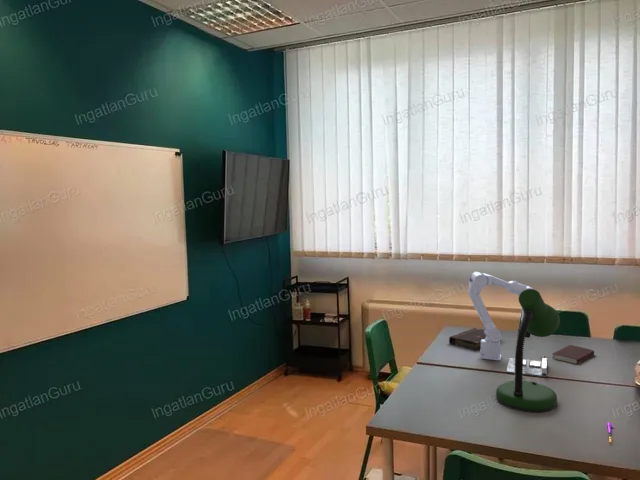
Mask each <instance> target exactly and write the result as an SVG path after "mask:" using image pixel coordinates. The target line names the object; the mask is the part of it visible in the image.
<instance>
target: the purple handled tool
mask: <svg viewBox="0 0 640 480" xmlns="http://www.w3.org/2000/svg"><path fill="white" fill-rule="evenodd" d="M612 425H613V424H612V423H611V422H607V423H606V427H607V426H608V427H607V434H608V433H609V434H611V435H612V428H611V427H612ZM608 437H609V440H608V443H609V442H610V443H611V442H612V443H613V437H612V436H608ZM610 443H609V444H610Z"/></svg>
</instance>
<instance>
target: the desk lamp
mask: <svg viewBox="0 0 640 480" xmlns="http://www.w3.org/2000/svg"><path fill="white" fill-rule="evenodd" d="M518 303H519V305H520V307H521V309H522V308H523V310H524V316H523V319H522V321H521V320H520V321H521V322H520V325H519V327H518V331H517V334H516V342H515V348H514V358H515V372H514V373H515V374H513V375H514V380H511V381H507V382H506V381H505V382H503V383H501V384H500V385H498V387H497V389H496V391H495V394H496V395H495V399H496V401H497V402H498V403H499V404H501V405H503V406H505V407H507V408H510V409H513V410H516V411H520V412H526V413H536V414H537V413H546V412H550V411H552V410H555V408H556V407H557V406H558V397H557V394H556V392H555V391H554V390H553V388H550V387H548V386H547V385H544V384H541V383H538V382H536V381H528V380H524V378H523V377H524V375H523V359H524V349H525V348H524V347H525V346H524V345H525V342H526V341H525V340H526V338H527V337H526V332H527V331H528V332H529V333H530V335H532V336H534V337H540V338H546V337H549V336H551V335H553V334H555V332H557V330H558V329H559V327H560V323H561V319H560V315H559V314H558V312H557V310H556V309H555V308H554V307H552V306H551V305H549V304H548V303H545V301H544V299H543V297H542V295H541V293H540V292H539V291H538V290H537V289H534V288H533V289H526V290H524V291H522V292H521V294H520V295H518Z"/></svg>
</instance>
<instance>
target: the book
mask: <svg viewBox="0 0 640 480" xmlns="http://www.w3.org/2000/svg"><path fill="white" fill-rule="evenodd" d="M594 356H595V350H592V349H589V348H587V347H583V346H577V345H575V344H574V345H573V344H572V345H571V344H569V345H566V346H565V347H563V348H561V349H558V350H557V351H555V352H553V353H552V359H554V360H559V361H563V362H567V363H572V364H576V365H578V364H580V363H582V362H583V361H585V360H587V359H589V358H591V357H594Z"/></svg>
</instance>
